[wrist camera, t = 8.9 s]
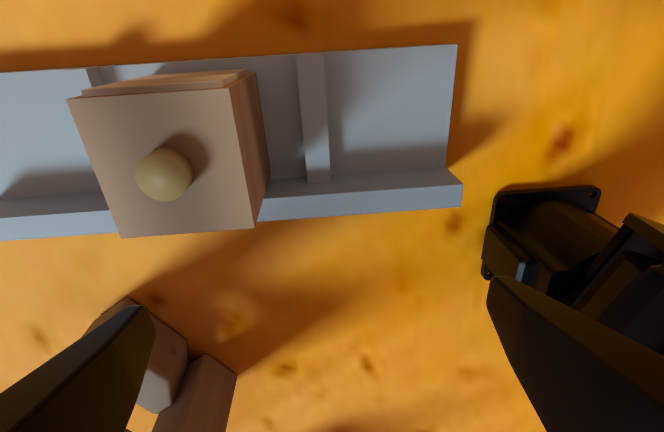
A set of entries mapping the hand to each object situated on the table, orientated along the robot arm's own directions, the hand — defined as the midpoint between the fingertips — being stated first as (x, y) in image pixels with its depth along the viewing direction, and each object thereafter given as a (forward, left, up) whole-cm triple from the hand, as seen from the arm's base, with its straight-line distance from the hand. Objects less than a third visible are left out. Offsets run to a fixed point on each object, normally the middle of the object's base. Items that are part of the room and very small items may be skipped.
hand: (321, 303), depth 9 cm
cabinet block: (+5, -2, -10) cm, 12 cm away
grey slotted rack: (+5, -2, -12) cm, 13 cm away
